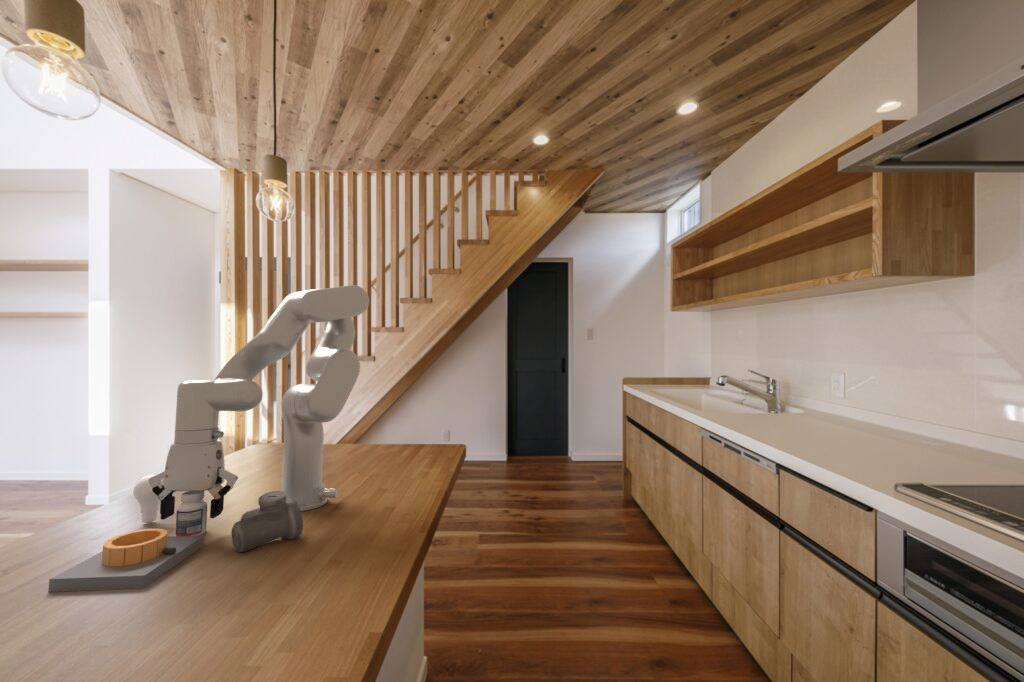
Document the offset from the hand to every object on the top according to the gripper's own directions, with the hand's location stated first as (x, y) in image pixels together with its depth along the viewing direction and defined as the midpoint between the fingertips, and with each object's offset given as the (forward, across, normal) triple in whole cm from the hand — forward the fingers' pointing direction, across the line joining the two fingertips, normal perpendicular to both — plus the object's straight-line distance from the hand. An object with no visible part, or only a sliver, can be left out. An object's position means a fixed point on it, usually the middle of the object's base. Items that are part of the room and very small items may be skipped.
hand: (191, 516), depth 90 cm
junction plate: (+4, +1, +14) cm, 15 cm away
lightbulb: (+4, +13, -7) cm, 15 cm away
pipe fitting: (+4, -18, +6) cm, 19 cm away
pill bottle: (+4, 0, 0) cm, 4 cm away
